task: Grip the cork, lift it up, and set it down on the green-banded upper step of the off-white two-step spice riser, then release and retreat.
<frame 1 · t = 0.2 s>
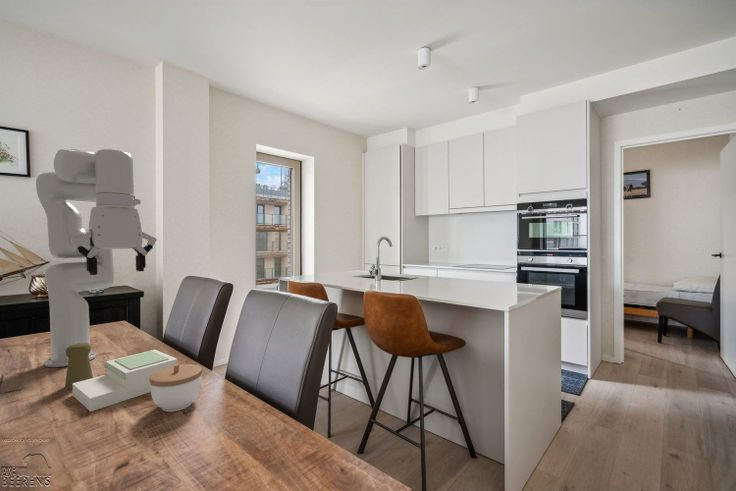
hand: (117, 272, 85), 31 cm above the table, fingers open, 9 cm apart
cork: (79, 385, 94), on the table
lidded jar: (177, 406, 81), on the table
spice riser: (129, 388, 91), on the table
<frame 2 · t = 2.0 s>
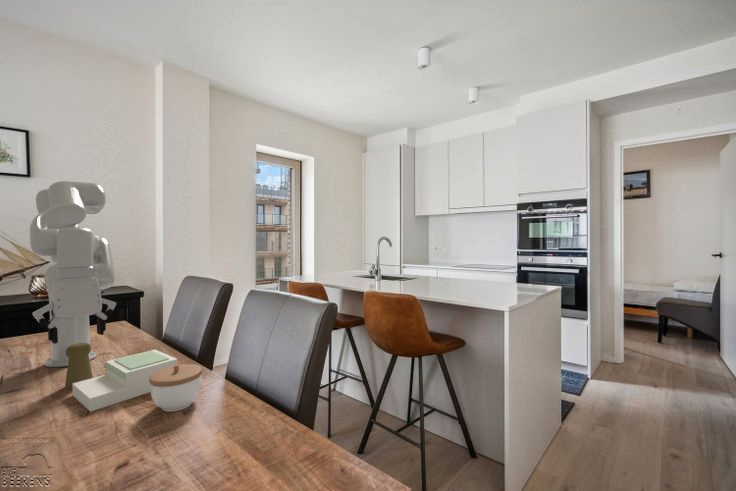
hand: (78, 338, 93), 13 cm above the table, fingers open, 9 cm apart
nothing on the table moved.
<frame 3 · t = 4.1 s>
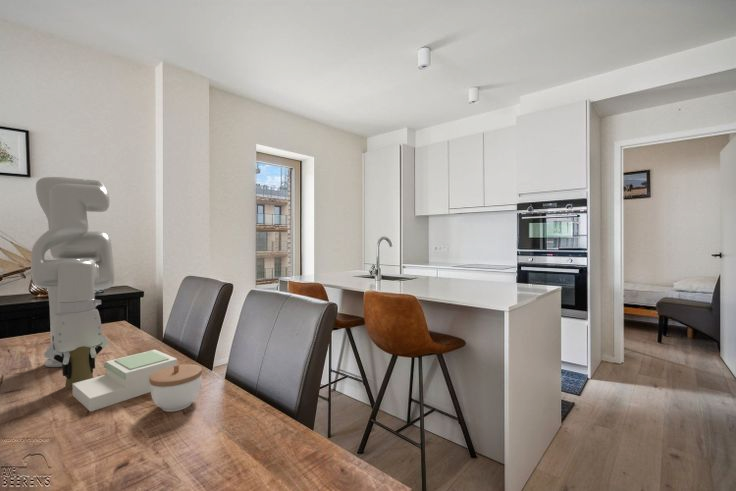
hand: (79, 374, 93), 3 cm above the table, fingers closed on cork, 3 cm apart
cork: (80, 385, 94), on the table, touching gripper
everything else where it was.
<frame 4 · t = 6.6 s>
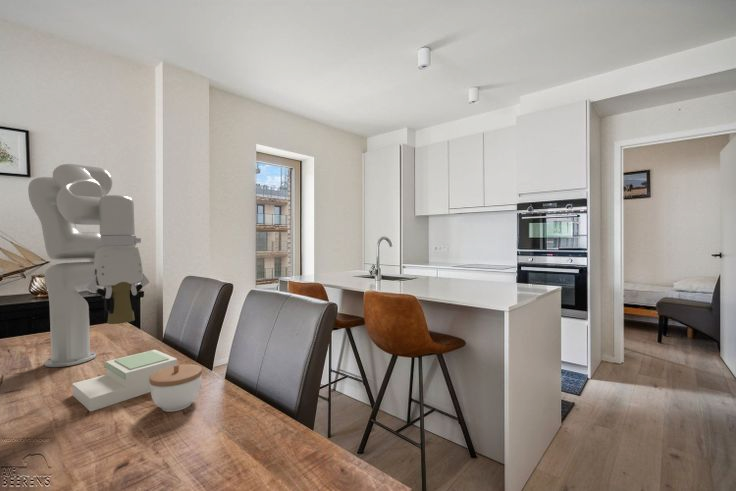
hand: (120, 310, 93), 20 cm above the table, fingers closed on cork, 3 cm apart
cork: (121, 322, 93), point 17 cm above the table, touching gripper
everything else where it was.
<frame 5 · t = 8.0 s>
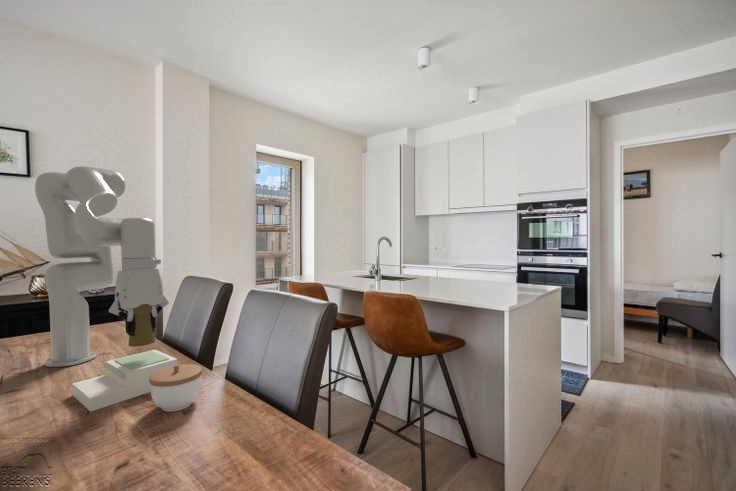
hand: (141, 332, 93), 14 cm above the table, fingers closed on cork, 3 cm apart
cork: (142, 343, 93), point 11 cm above the table, touching gripper
everything else where it was.
when the fingers open (11 cm above the table, at t = 9.2 s): cork drops 1 cm, resting on spice riser.
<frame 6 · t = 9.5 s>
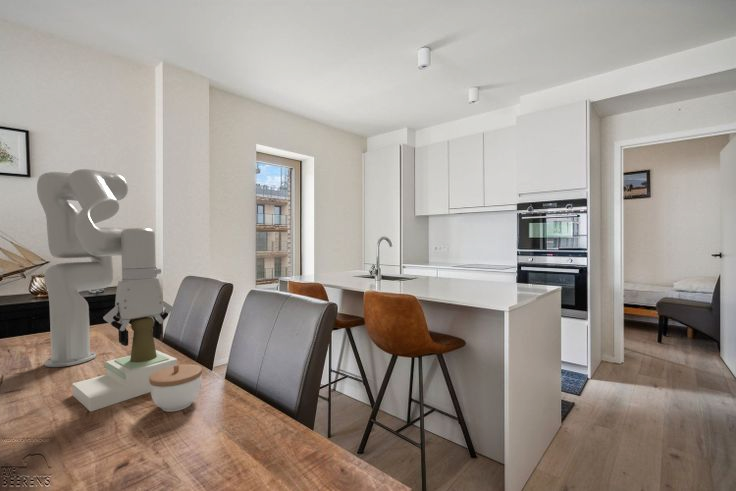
hand: (141, 340, 93), 12 cm above the table, fingers open, 7 cm apart
cork: (143, 359, 93), point 7 cm above the table, touching spice riser
everything else where it was.
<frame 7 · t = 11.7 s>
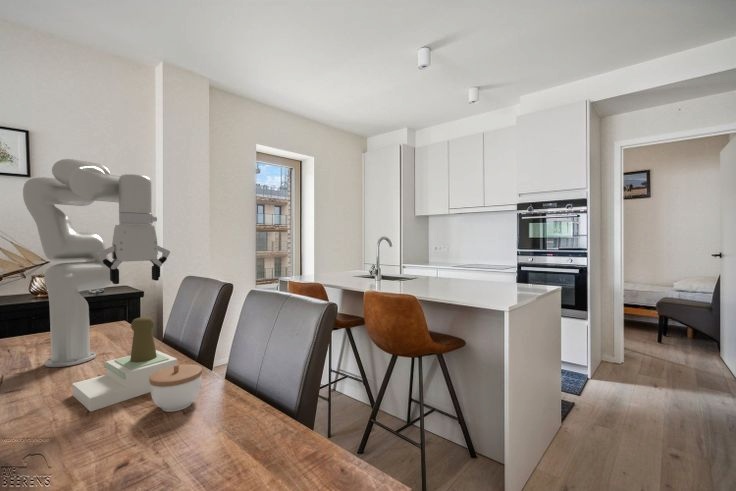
hand: (136, 281, 97), 27 cm above the table, fingers open, 9 cm apart
nothing on the table moved.
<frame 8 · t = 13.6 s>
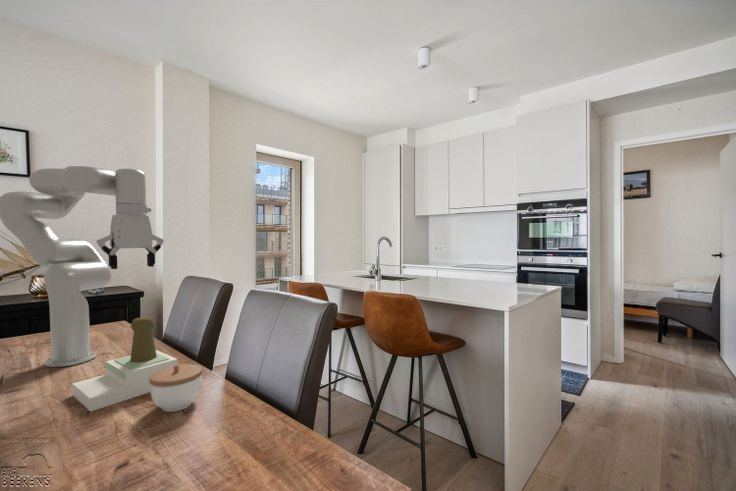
hand: (133, 267, 105), 30 cm above the table, fingers open, 9 cm apart
nothing on the table moved.
at the end: cork inside the target area on the spice riser (0.3 cm from its centre), point 6.6 cm above the spice riser's base; cork tilted 0°; the gripper is holding nothing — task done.
